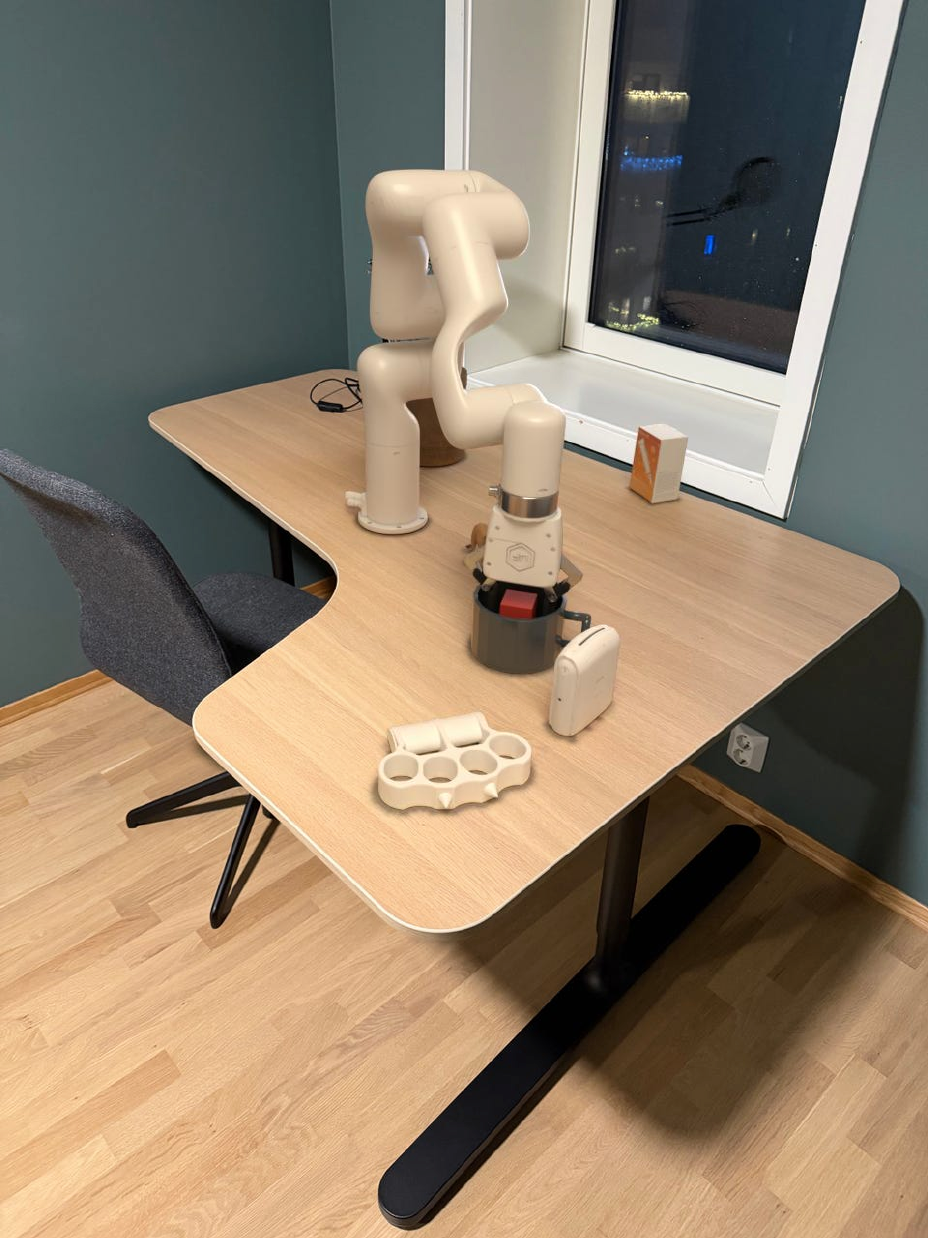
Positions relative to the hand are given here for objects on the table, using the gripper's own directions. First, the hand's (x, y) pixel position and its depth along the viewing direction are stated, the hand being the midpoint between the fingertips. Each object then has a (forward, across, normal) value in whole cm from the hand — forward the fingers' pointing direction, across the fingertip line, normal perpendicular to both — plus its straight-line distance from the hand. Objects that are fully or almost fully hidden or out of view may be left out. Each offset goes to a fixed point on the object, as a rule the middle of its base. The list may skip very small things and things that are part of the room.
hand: (518, 615), depth 123 cm
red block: (+5, 0, 0) cm, 5 cm away
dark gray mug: (+5, +2, 0) cm, 6 cm away
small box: (+6, +15, +63) cm, 65 cm away
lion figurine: (+6, -9, +22) cm, 24 cm away
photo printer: (+5, +11, -13) cm, 18 cm away
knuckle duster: (+5, -2, -28) cm, 29 cm away
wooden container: (+6, -33, +69) cm, 76 cm away
